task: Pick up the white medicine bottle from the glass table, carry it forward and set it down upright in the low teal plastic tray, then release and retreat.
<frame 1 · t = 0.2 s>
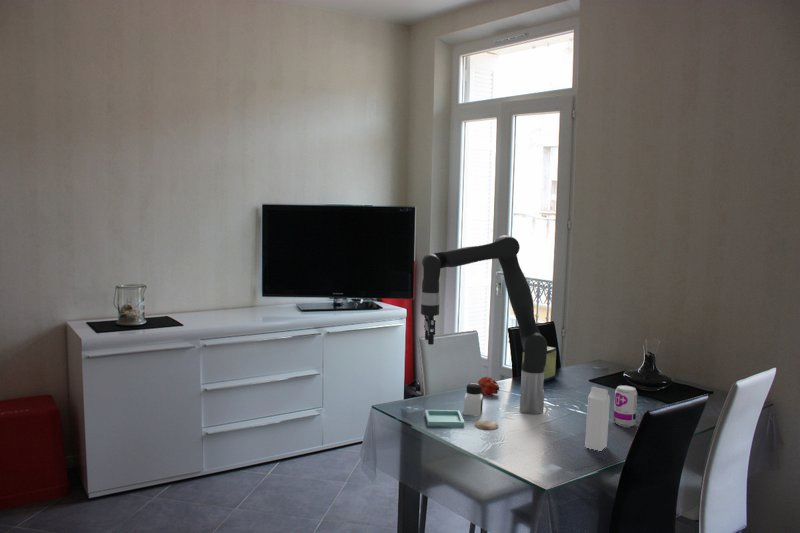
hand: (429, 342, 272), 29 cm above the table, tool pointing down, fingers open, 8 cm apart
protein box: (538, 379, 327), on the table
dragon fruit: (488, 394, 299), on the table
cork coaster: (486, 425, 257), on the table
medicine bottle: (472, 413, 272), on the table
milk: (595, 448, 238), on the table
tray: (444, 420, 262), on the table
supplement can: (623, 424, 264), on the table
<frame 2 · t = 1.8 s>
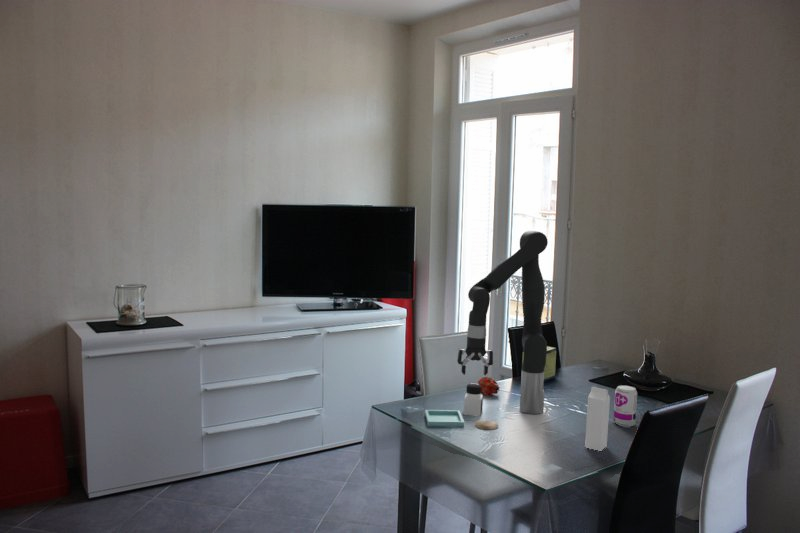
hand: (474, 374, 271), 16 cm above the table, tool pointing down, fingers open, 8 cm apart
nothing on the table moved.
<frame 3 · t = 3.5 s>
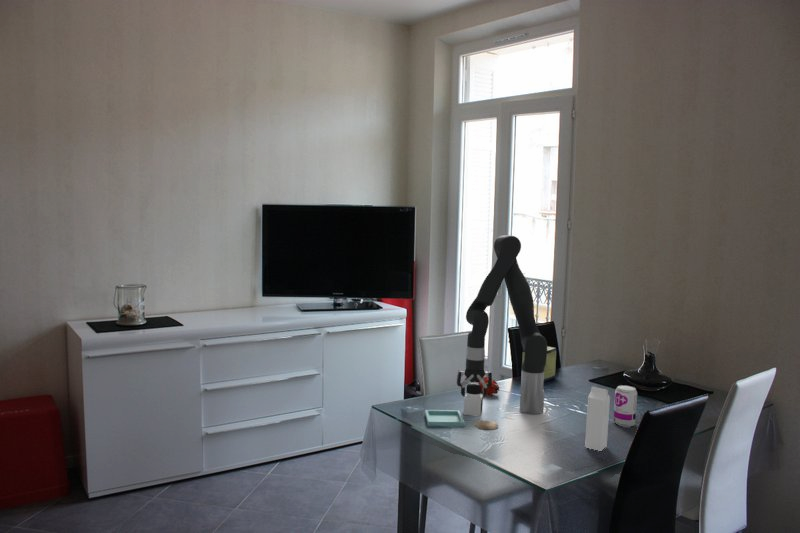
hand: (473, 396, 271), 7 cm above the table, tool pointing down, fingers closed on medicine bottle, 8 cm apart
medicine bottle: (472, 413, 272), on the table, touching gripper
everything else where it was.
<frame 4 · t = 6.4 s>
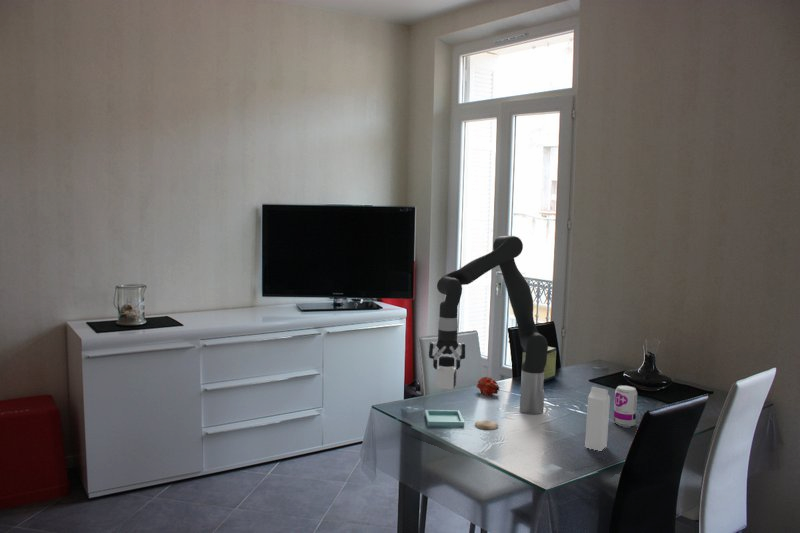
hand: (446, 368, 259), 21 cm above the table, tool pointing down, fingers closed on medicine bottle, 8 cm apart
medicine bottle: (445, 387, 260), point 14 cm above the table, touching gripper
everything else where it was.
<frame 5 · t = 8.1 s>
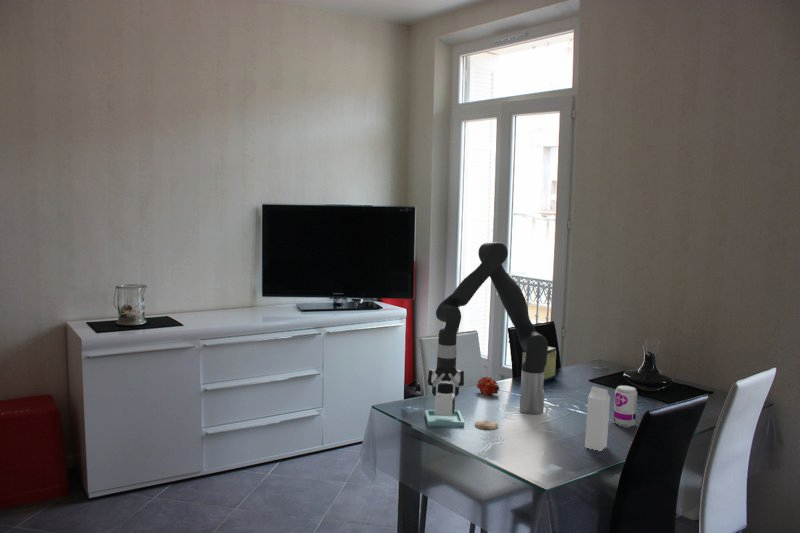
hand: (445, 395, 261), 10 cm above the table, tool pointing down, fingers closed on medicine bottle, 8 cm apart
medicine bottle: (444, 413, 261), point 3 cm above the table, touching gripper
everything else where it was.
when the fingers open (9 cm above the table, at t = 9.5 s): medicine bottle drops 1 cm, resting on tray.
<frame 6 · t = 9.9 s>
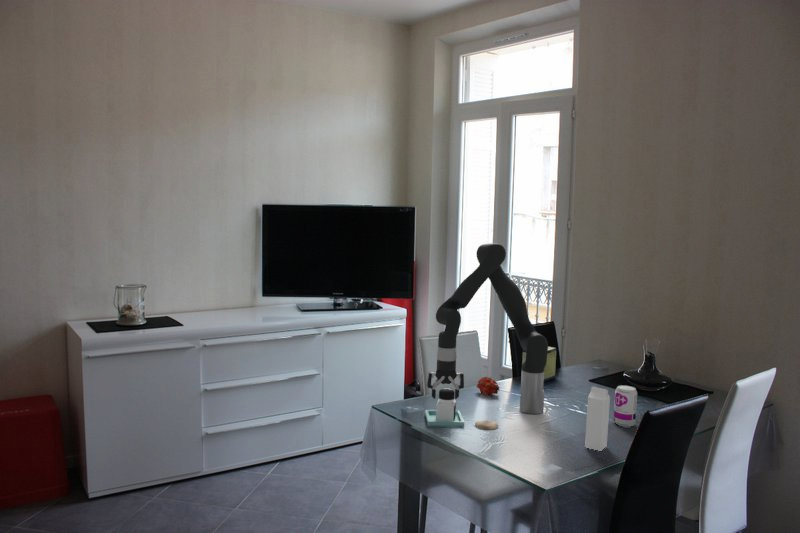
hand: (445, 398, 261), 9 cm above the table, tool pointing down, fingers open, 8 cm apart
medicine bottle: (445, 419, 262), resting on tray
everything else where it was.
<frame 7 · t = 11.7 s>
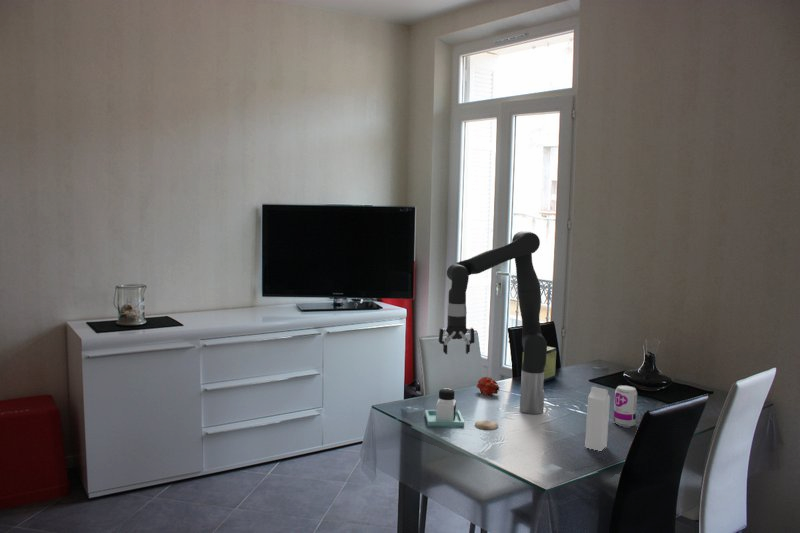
hand: (456, 353, 268), 25 cm above the table, tool pointing down, fingers open, 8 cm apart
nothing on the table moved.
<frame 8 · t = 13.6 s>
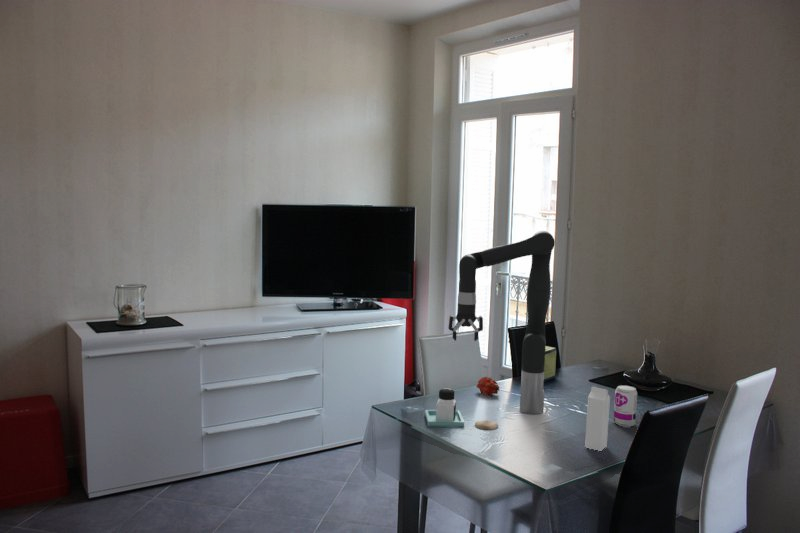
hand: (465, 340, 279), 28 cm above the table, tool pointing down, fingers open, 8 cm apart
nothing on the table moved.
at the end: medicine bottle inside the target area on the tray (0.6 cm from its centre), point 0.4 cm above the tray's base; medicine bottle tilted 0°; the gripper is holding nothing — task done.
